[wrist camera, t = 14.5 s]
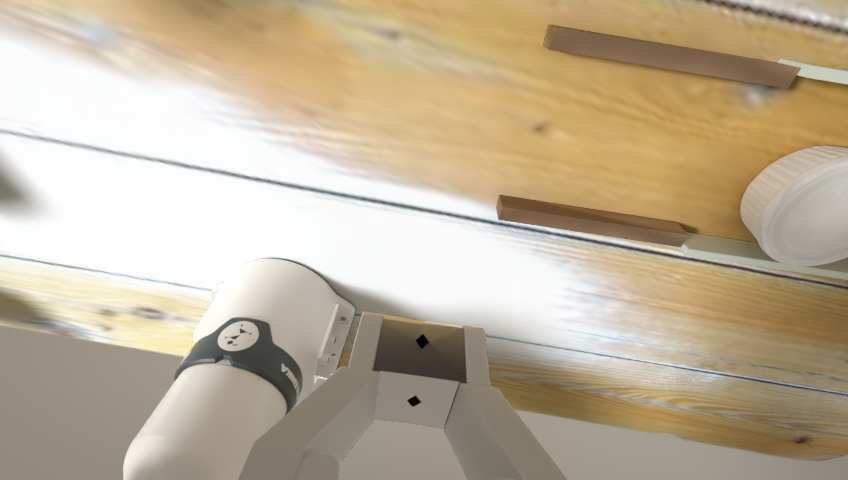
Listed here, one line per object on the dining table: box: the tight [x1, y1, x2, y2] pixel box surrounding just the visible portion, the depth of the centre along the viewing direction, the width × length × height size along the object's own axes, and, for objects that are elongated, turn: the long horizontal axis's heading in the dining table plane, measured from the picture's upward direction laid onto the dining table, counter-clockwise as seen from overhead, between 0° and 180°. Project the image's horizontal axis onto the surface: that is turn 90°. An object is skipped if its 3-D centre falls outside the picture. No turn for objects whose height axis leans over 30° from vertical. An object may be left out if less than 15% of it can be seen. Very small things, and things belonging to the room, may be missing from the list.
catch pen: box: [678, 59, 848, 280], centre depth 33 cm, size 18×23×4 cm
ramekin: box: [740, 146, 848, 266], centre depth 34 cm, size 11×11×5 cm
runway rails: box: [496, 25, 801, 247], centre depth 33 cm, size 17×19×2 cm
